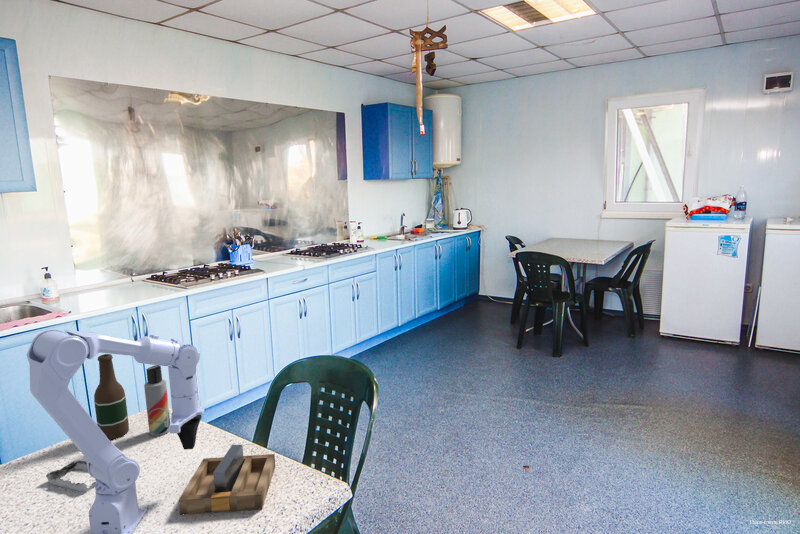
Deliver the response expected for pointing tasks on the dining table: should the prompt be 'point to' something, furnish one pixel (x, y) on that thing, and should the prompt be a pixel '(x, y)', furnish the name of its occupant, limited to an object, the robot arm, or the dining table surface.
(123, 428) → the beer bottle
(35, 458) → the dining table surface
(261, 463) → the rack
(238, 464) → the panel
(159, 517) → the dining table surface
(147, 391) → the lotion bottle
